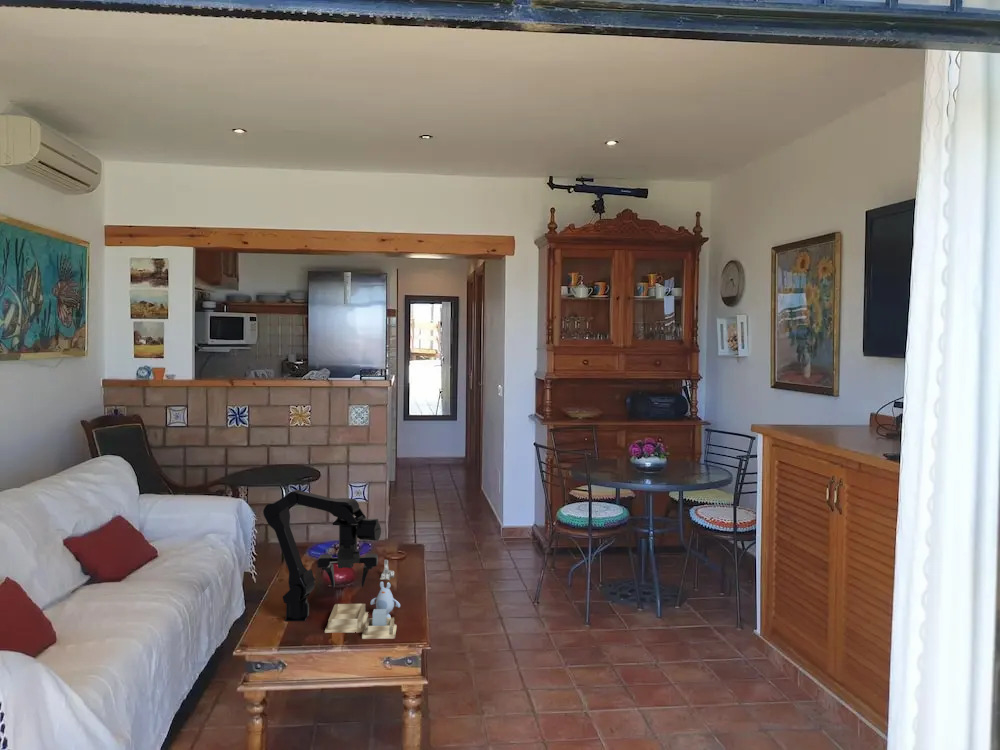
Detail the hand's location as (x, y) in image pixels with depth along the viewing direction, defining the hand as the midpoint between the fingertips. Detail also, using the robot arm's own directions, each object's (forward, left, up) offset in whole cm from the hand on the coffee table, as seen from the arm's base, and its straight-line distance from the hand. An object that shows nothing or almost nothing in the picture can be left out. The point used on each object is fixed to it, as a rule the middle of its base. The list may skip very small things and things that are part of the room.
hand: (348, 586), depth 244 cm
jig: (0, 0, -12) cm, 12 cm away
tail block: (+11, -8, -11) cm, 18 cm away
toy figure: (+11, +5, -12) cm, 18 cm away
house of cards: (+11, +47, -13) cm, 50 cm away
